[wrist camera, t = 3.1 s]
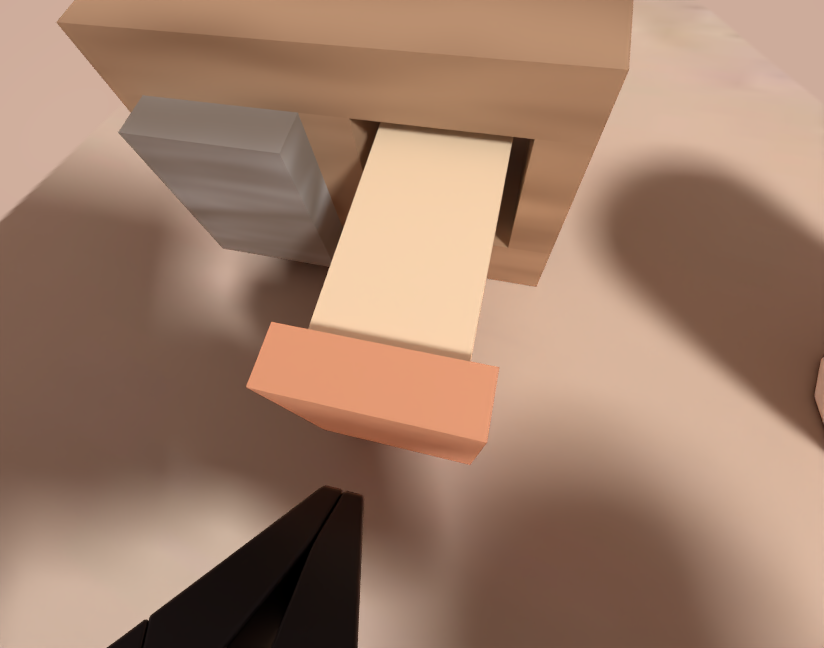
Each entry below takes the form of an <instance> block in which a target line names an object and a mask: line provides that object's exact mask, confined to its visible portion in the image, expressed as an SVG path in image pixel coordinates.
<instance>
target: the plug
mask: <svg viewBox="0 0 824 648" xmlns="http://www.w3.org/2000/svg"><path fill="white" fill-rule="evenodd" d="M512 141H513V137H511V136H502V135H493V134H484V133H475V132H466V131H457V130H448V129H439V128H431V127H422V126H413V125H404V124H395V123H386V122H381V123H380V126H379V128H378V131H377V134H376V137H375V140H374V143H373V145H372V148H371V151H370V154H369V157H368V160H367V163H366V165H365V168H364V171H363V174H362V177H361V180H360V182H359V185H358V188H357V191H356V194H355V197H354V199H353V202H352V205H351V208H350V211H349V214H348V217H347V219H346V222H345V225H344V228H343V231H342V234H341V236H340V239H339V242H338V245H337V248H336V251H335V253H334V256H333V259H332V262H331V265H330V268H329V271H328V273H327V276H326V279H325V282H324V285H323V288H322V290H321V293H320V296H319V299H318V302H317V305H316V307H315V310H314V313H313V316H312V319H311V322H310V324H309V327H308V329H305V328H300V327H295V326H290V325H285V324H280V323H275V322H271V324H270V326H269V329H268V332H267V334H266V337H265V339H264V342H263V344H262V347H261V350H260V352H259V355H258V357H257V360H256V362H255V365H254V368H253V370H252V373H251V375H250V378H249V380H248V383H247V386H246V387H247V388H248V389H250V390H252V391H254V392H256V393H258V394H259V395H261V396H263V397H265V398H267V399H269V400H271V401H272V402H274V403H276V404H278V405H280V406H282V407H283V408H285V409H287V410H289V411H291V412H293V413H295V414H296V415H298V416H300V417H302V418H304V419H306V420H307V421H309V422H311V423H313V424H315V425H317V426H319V427H320V428H322V429H324V430H328V431H332V432H336V433H340V434H344V435H348V436H353V437H357V438H361V439H365V440H369V441H373V442H378V443H382V444H386V445H390V446H394V447H398V448H403V449H407V450H411V451H415V452H419V453H423V454H427V455H432V456H436V457H440V458H444V459H448V460H452V461H457V462H461V463H465V464H469V465H470V464H471V463H472V462H473V460H474V459H475V458H476V456H477V455H478V454H479V452H480V451H481V450H482V448H483V447H484V446H485V444H486V443H487V439H488V433H489V426H490V420H491V414H492V408H493V402H494V396H495V390H496V384H497V378H498V372H499V367H495V366H490V365H485V364H480V363H475V362H471V357H472V352H473V346H474V341H475V336H476V331H477V326H478V320H479V315H480V310H481V305H482V300H483V294H484V289H485V284H486V279H487V273H488V268H489V263H490V258H491V253H492V247H493V242H494V237H495V232H496V227H497V221H498V216H499V211H500V206H501V201H502V195H503V190H504V185H505V179H506V174H507V168H508V163H509V158H510V152H511V147H512Z"/></svg>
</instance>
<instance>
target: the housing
mask: <svg viewBox="0 0 824 648" xmlns="http://www.w3.org/2000/svg"><path fill="white" fill-rule="evenodd" d="M632 14H633V0H74V2H73V3H72V4H71V5H70V6H69V8H68V9H67V10H66V11H65V13H64V14H63V15H62V16H61V17H60V18H59V20H58V21H57V23H58V25H59V26H60V27H61V28H62V30H63V31H64V32H65V33H66V35H67V36H68V37H69V38H70V39H71V41H72V42H73V43H74V44H75V45H76V47H77V48H78V49H79V50H80V51H81V53H82V54H83V55H84V56H85V57H86V59H87V60H88V61H89V62H90V64H91V65H92V66H93V67H94V69H95V70H96V71H97V72H98V73H99V75H100V76H101V77H102V78H103V79H104V81H105V82H106V83H107V84H108V85H109V87H110V88H111V89H112V90H113V92H114V93H115V94H116V95H117V96H118V98H119V99H120V100H121V101H122V103H123V104H124V105H125V106H126V107H127V109H128V110H129V111H130V112H131V114H130V115H129V117H128V118H127V120H126V121H125V123H124V124H123V126H122V128H121V129H120V131H119V132H118V133H119V134H120V135H121V136H122V137H123V138H124V139H125V141H126V142H127V143H128V144H129V145H130V146H131V147H132V148H133V149H134V150H135V152H136V153H137V154H138V155H139V156H140V157H141V158H142V159H143V160H144V162H145V163H146V164H147V165H148V166H149V167H150V168H151V169H152V170H153V172H154V173H155V174H156V175H157V176H158V177H159V178H160V179H161V180H162V181H163V183H164V184H165V185H166V186H167V187H168V188H169V189H170V190H171V191H172V193H173V194H174V195H175V196H176V197H177V198H178V199H179V200H180V201H181V202H182V204H183V205H184V206H185V207H186V208H187V209H188V210H189V211H190V212H191V214H192V215H193V216H194V217H195V218H196V219H197V220H198V221H199V222H200V224H201V225H202V226H203V227H204V228H205V229H206V230H207V231H208V232H209V233H210V235H211V236H212V237H213V238H214V239H215V240H216V241H217V242H218V243H219V245H220V246H221V247H222V248H224V249H229V250H235V251H241V252H247V253H253V254H258V255H264V256H270V257H276V258H281V259H287V260H293V261H299V262H304V263H310V264H316V265H322V266H328V267H330V265H331V262H332V259H333V256H334V253H335V251H336V248H337V245H338V242H339V239H340V236H341V234H342V231H343V228H344V225H345V222H346V219H347V217H348V214H349V211H350V208H351V205H352V202H353V199H354V197H355V194H356V191H357V188H358V185H359V182H360V180H361V177H362V174H363V171H364V168H365V165H366V163H367V160H368V157H369V154H370V151H371V148H372V145H373V143H374V140H375V137H376V134H377V131H378V128H379V126H380V123H381V122H386V123H395V124H404V125H413V126H422V127H431V128H439V129H448V130H457V131H466V132H475V133H484V134H493V135H502V136H511V137H513V141H512V147H511V152H510V158H509V163H508V168H507V174H506V179H505V185H504V190H503V195H502V201H501V206H500V211H499V216H498V221H497V227H496V232H495V237H494V242H493V247H492V253H491V258H490V263H489V268H488V273H487V278H488V279H494V280H500V281H506V282H512V283H518V284H523V285H529V286H535V287H536V286H537V284H538V281H539V279H540V277H541V274H542V272H543V270H544V267H545V265H546V263H547V260H548V258H549V256H550V253H551V251H552V249H553V246H554V244H555V242H556V239H557V237H558V235H559V232H560V230H561V228H562V225H563V223H564V221H565V218H566V216H567V214H568V211H569V209H570V207H571V204H572V202H573V200H574V197H575V195H576V193H577V190H578V188H579V185H580V183H581V181H582V178H583V176H584V174H585V171H586V169H587V167H588V164H589V162H590V160H591V157H592V155H593V153H594V150H595V148H596V146H597V143H598V141H599V139H600V136H601V134H602V132H603V129H604V127H605V125H606V122H607V120H608V118H609V115H610V113H611V111H612V108H613V106H614V104H615V101H616V99H617V97H618V94H619V92H620V90H621V87H622V85H623V82H624V80H625V78H626V75H627V73H628V71H629V61H630V45H631V29H632Z"/></svg>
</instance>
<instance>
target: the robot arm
mask: <svg viewBox="0 0 824 648" xmlns="http://www.w3.org/2000/svg"><path fill="white" fill-rule="evenodd" d="M363 512H364V497H363V495H361V494H357V493H353V492H350V491H345V492H343V490H341V489H338V488H334V487H331V486H323V487H321V488H319V489H318V490H317V491H315V492H314V493H313V494H312V495H310V496H309V497H308V498H306V499H305V500H304V501H302V502H301V503H300V504H298V505H297V506H296V507H294V508H293V509H292V510H290V511H289V512H288V513H286V514H285V515H284V516H282V517H281V518H280V519H278V520H277V521H276V522H274V523H273V524H272V525H270V526H269V527H268V528H266V529H265V530H264V531H262V532H261V533H260V534H258V535H257V536H256V537H254V538H253V539H252V540H250V541H249V542H248V543H246V544H245V545H244V546H242V547H241V548H240V549H238V550H237V551H236V552H234V553H233V554H232V555H230V556H229V557H228V558H226V559H225V560H224V561H222V562H221V563H220V564H218V565H217V566H216V567H214V568H213V569H212V570H210V571H209V572H208V573H206V574H205V575H204V576H202V577H201V578H200V579H198V580H197V581H196V582H194V583H193V584H192V585H190V586H189V587H188V588H186V589H185V590H184V591H182V592H181V593H180V594H178V595H177V596H176V597H174V598H173V599H172V600H170V601H169V602H168V603H166V604H165V605H164V606H162V607H161V608H160V609H158V610H157V611H156V612H154V613H153V614H152V615H151V616H150V618H149V621H148V620H147V619H146V620H143V621H142V622H141V623H140V624H138V625H137V626H136V627H134V628H133V629H132V630H130V631H129V632H128V633H126V634H125V635H124V636H122V637H121V638H120V639H118V640H117V641H115V642H114V643H113V644H111V645H110V646H108V647H107V648H358V626H359V603H360V580H361V558H362V535H363Z"/></svg>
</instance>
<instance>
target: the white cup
mask: <svg viewBox="0 0 824 648" xmlns="http://www.w3.org/2000/svg"><path fill="white" fill-rule="evenodd" d="M814 396H815V400H816V403H817V406H818V409H819V412H820V415H821V418H822V421H823V423H824V357H823V358H822V359H821V362H820V368H819V373H818V378H817V384H816V389H815V395H814Z"/></svg>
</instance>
